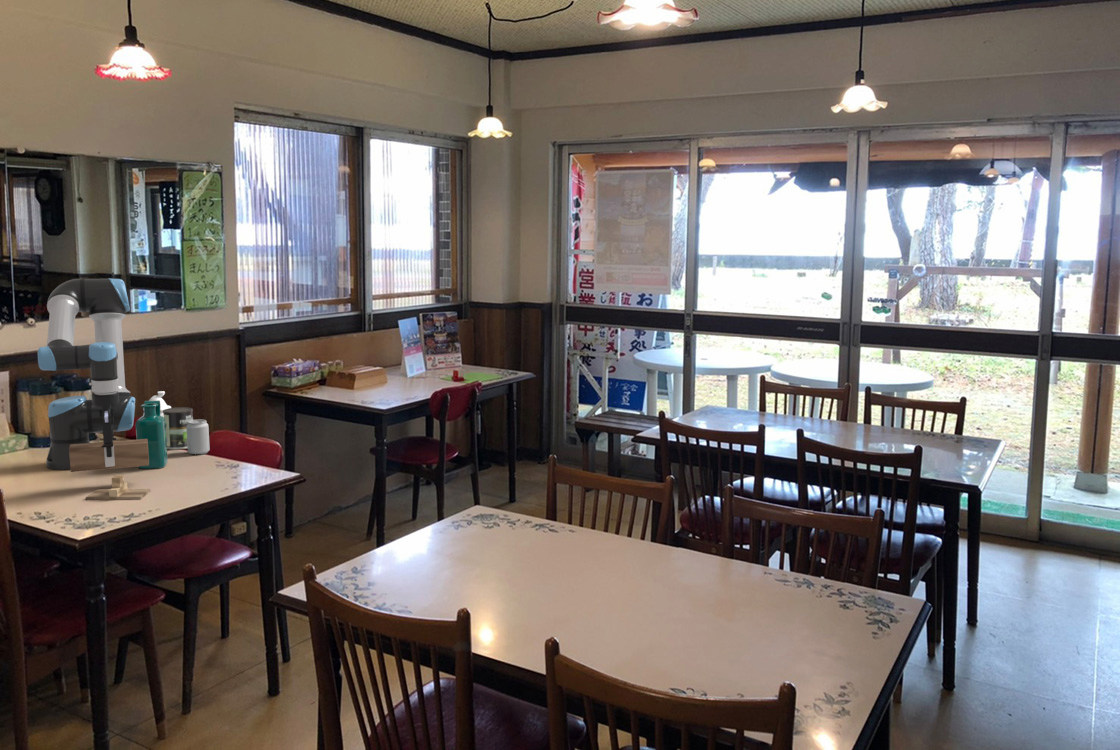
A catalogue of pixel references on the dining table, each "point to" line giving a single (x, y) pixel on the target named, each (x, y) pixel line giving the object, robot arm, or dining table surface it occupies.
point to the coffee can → (177, 426)
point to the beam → (94, 458)
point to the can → (198, 437)
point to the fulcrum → (118, 491)
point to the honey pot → (162, 402)
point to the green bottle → (153, 434)
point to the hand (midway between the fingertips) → (110, 463)
